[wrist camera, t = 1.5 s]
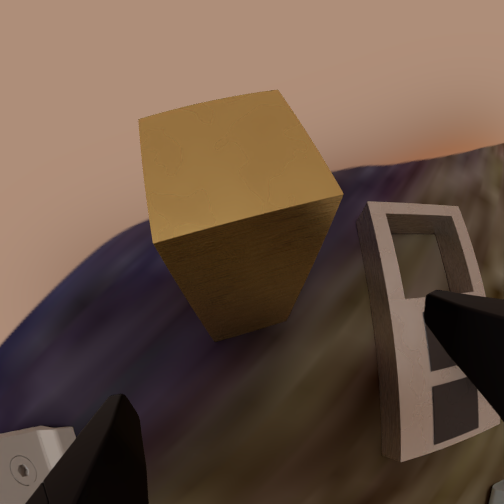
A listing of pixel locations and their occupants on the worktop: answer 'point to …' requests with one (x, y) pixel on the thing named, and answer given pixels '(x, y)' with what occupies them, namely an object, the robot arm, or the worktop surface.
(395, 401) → the rail
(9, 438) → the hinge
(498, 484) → the pale grey rounded block
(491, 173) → the worktop surface
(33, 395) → the worktop surface
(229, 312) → the gold rectangular block
